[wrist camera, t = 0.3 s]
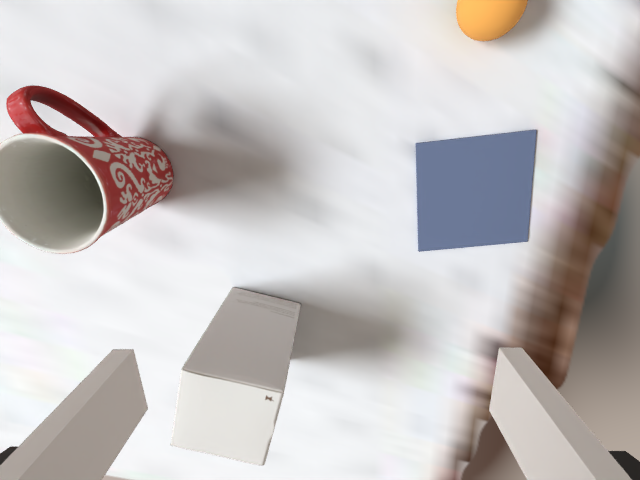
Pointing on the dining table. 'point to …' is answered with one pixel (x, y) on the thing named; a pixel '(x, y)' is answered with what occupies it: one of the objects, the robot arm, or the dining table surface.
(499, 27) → the ball
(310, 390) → the dining table surface
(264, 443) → the supplement box
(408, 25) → the dining table surface
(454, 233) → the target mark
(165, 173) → the mug
